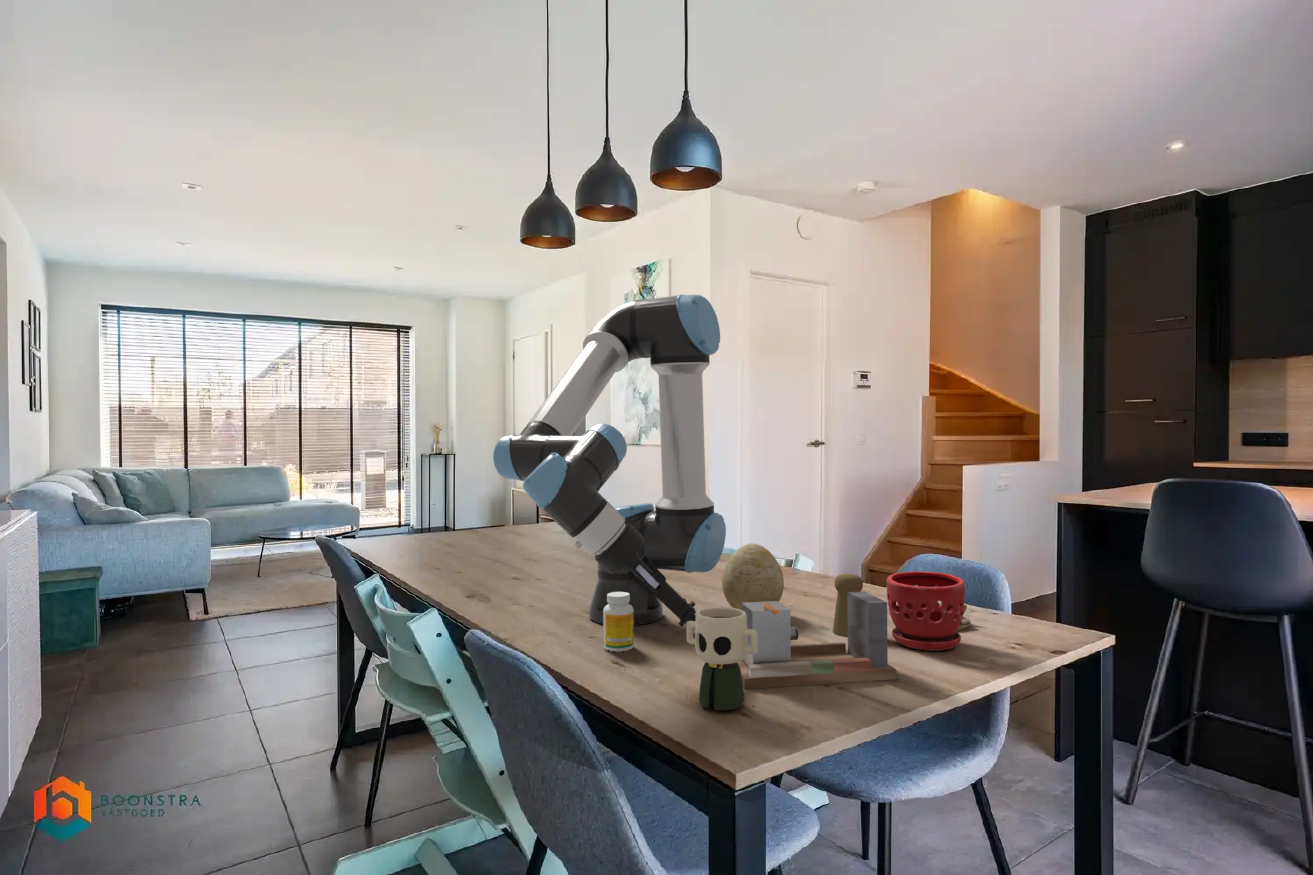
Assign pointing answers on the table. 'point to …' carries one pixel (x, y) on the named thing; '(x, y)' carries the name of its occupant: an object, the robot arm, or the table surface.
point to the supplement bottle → (618, 623)
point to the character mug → (721, 654)
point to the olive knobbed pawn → (844, 601)
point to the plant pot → (926, 609)
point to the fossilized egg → (752, 576)
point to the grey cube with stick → (770, 632)
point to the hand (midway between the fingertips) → (718, 644)
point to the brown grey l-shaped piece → (834, 653)
